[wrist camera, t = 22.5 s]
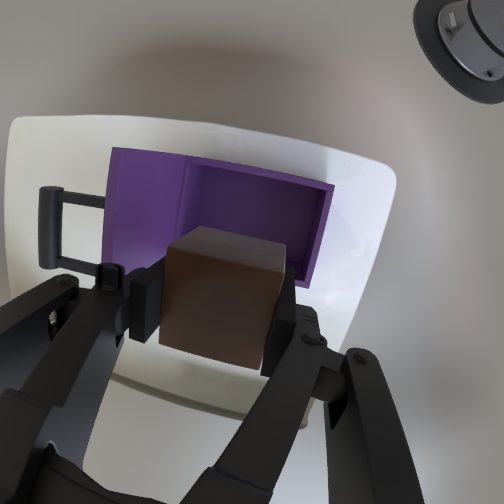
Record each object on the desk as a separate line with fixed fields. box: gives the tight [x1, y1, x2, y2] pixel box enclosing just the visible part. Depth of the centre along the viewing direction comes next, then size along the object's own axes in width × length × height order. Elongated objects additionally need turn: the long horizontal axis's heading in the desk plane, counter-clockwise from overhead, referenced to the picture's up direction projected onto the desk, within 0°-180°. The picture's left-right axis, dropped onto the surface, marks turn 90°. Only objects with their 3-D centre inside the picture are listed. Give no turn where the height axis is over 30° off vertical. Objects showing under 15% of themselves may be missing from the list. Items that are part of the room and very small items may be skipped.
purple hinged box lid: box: [38, 147, 186, 276], centre depth 25 cm, size 19×13×8 cm
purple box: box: [173, 155, 335, 289], centre depth 38 cm, size 18×13×8 cm
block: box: [159, 226, 286, 370], centre depth 15 cm, size 5×5×5 cm
